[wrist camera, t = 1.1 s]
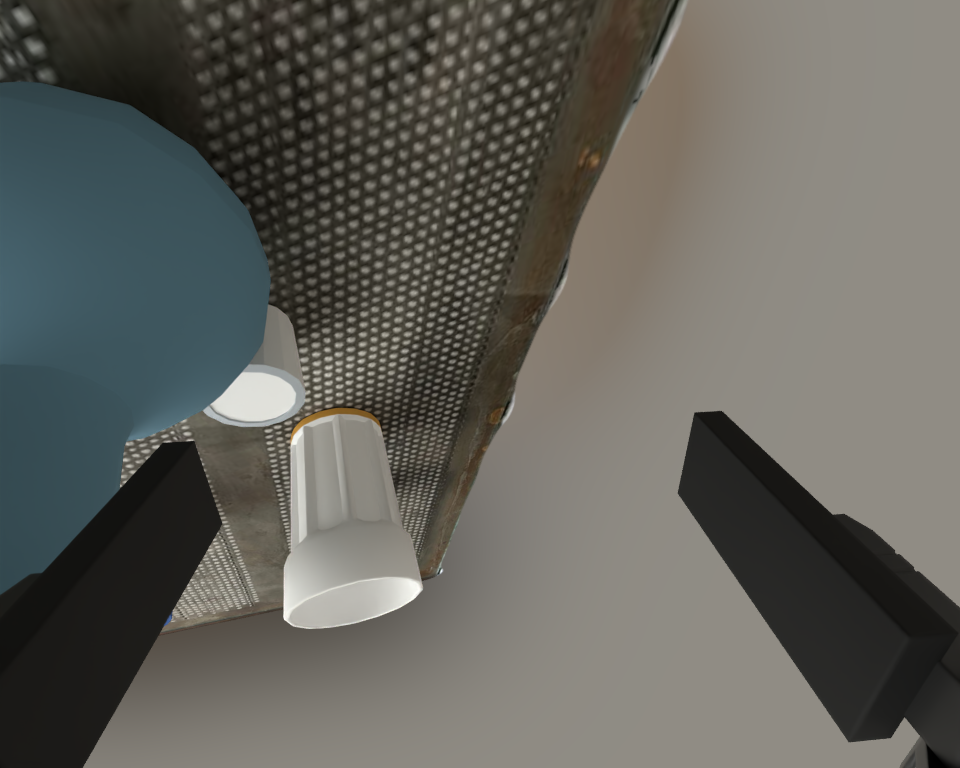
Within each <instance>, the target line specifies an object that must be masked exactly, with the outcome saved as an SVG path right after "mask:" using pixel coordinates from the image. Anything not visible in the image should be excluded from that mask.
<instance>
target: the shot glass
mask: <svg viewBox="0 0 960 768" xmlns="http://www.w3.org/2000/svg"><path fill="white" fill-rule="evenodd" d="M305 393H306V391H305V386H304V380H303V375H302V370H301V365H300V360H299V355H298V350H297V345H296V340H295V335H294V329H293V325H292V323H291V321H290V319H289V318H288V316H287V315H286V314H285V313H283V312H282V311H281V310H280V309H278V308H277V307H274V306H272V305H269V304H268V310H267V318H266V326H265V333H264V340H263V343H262V345H261V346H260V348H259V350H258V351H257V353H256V354H255V356H254V357H253V359H252V360H251V362H250V364H249V365H248V366H247V367H246V368H245V369H244V371H243V372H242V373H241V374H240V375H239V376H238V377H237V378H236V380H235V381H234V382H233V383H232V384H231V385H230V386H229V388H228V389H227V390H226V391H225V392H224V393H223V394H222V395H221V396H220V397H219V398H218V399H216V400H215V401H214V402H213V403H211V404H210V405H209V406H208V407H207V408H205V409H204V410H203V411H204V412H205V413H206V414H207V416H210V417H212V418H214V419H216V420H218V421H220V422H222V423H225V424H230V425H235V426H240V427H261V426H267V425H271V424H275V423H279V422H282V421H284V420H286V419H288V418H289V417H291V416H293V415H295V414H296V413H297V412H298V411H299V409H300V408H301V407H302V406H303V404H304V402H305Z"/></svg>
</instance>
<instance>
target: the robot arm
mask: <svg viewBox="0 0 960 768" xmlns="http://www.w3.org/2000/svg"><path fill="white" fill-rule="evenodd" d="M678 494H679V496H680V497H681V498H682V500H683V502H684V503H685V505H686V506H687V507H688V509H689V510H690V512H691V513H692V515H693V516H694V517H695V519H696V520H697V522H698V523H699V524H700V526H701V528H702V529H703V531H704V532H705V533H706V535H707V536H708V538H709V539H710V541H711V542H712V544H713V545H714V546H715V548H716V550H717V551H718V553H719V554H720V555H721V557H722V558H723V560H724V561H725V563H726V564H727V566H728V567H729V569H730V570H731V571H732V573H733V574H734V576H735V577H736V579H737V580H738V582H739V583H740V584H741V586H742V587H743V589H744V590H745V592H746V593H747V595H748V596H749V598H750V599H751V600H752V602H753V603H754V605H755V606H756V608H757V609H758V611H759V612H760V614H761V615H762V617H763V618H764V619H765V621H766V622H767V624H768V625H769V627H770V628H771V629H772V631H773V633H774V634H775V635H776V637H777V638H778V639H779V641H780V643H781V644H782V646H783V647H784V648H785V650H786V651H787V653H788V654H789V656H790V657H791V659H792V660H793V662H794V663H795V664H796V666H797V667H798V669H799V670H800V672H801V673H802V675H803V676H804V677H805V679H806V680H807V682H808V683H809V685H810V686H811V688H812V689H813V691H814V692H815V694H816V695H817V696H818V698H819V699H820V701H821V702H822V704H823V705H824V707H825V708H826V709H827V711H828V713H829V714H830V715H831V717H832V718H833V720H834V721H835V723H836V724H837V725H838V727H839V728H840V730H841V731H842V733H843V734H844V736H845V737H846V739H847V740H848V742H856V741H866V740H876V739H886V738H891V737H892V735H893V734H894V732H895V731H896V729H897V728H898V726H899V724H900V723H901V721H902V720H903V718H904V717H905V718H906V719H907V720H908V722H909V723H910V724H911V725H912V727H913V728H914V729H915V730H916V731H917V733H918V734H919V735H920V738H919V739H918V740H917V742H916V743H915V745H914V746H913V748H912V749H911V751H910V752H909V754H908V755H907V756H906V758H905V759H904V761H903V762H902V763H901V765H900V768H960V607H959V606H957V605H956V604H955V603H954V602H953V601H952V600H951V599H949V598H948V597H947V596H946V595H945V594H944V593H943V592H942V591H940V590H939V589H938V588H937V587H936V586H935V585H934V584H932V583H931V582H930V581H929V580H928V579H927V578H926V577H925V576H923V575H922V574H921V573H920V572H918V571H917V572H916V571H915V570H914V567H913V566H912V565H911V564H910V563H909V562H908V561H907V560H905V559H904V558H903V557H902V556H901V555H900V554H896V553H895V550H894V549H893V548H892V547H891V546H890V545H888V544H887V543H886V542H885V541H884V540H883V539H882V538H881V537H880V536H878V535H877V534H876V533H875V532H874V531H873V530H871V529H869V528H868V527H866V526H864V525H862V524H861V523H859V522H857V521H855V520H854V519H852V518H850V517H848V516H847V515H845V514H837V515H832V514H831V513H830V512H829V511H828V510H827V509H826V508H825V507H824V506H823V505H822V504H820V503H819V502H818V501H817V500H816V499H815V498H814V497H813V496H812V495H811V494H810V493H809V492H808V491H807V490H805V488H803V487H802V486H801V485H800V484H799V483H798V482H797V481H796V480H795V479H794V478H793V477H792V476H790V475H789V473H787V472H786V471H785V470H784V469H783V468H782V467H781V466H780V465H779V464H778V463H776V461H775V460H773V459H772V458H771V457H770V456H769V455H768V454H767V453H766V452H765V451H764V450H763V449H762V448H761V447H760V446H759V445H758V444H756V443H755V442H754V441H753V440H752V439H751V438H750V437H749V436H748V435H747V434H746V433H745V432H744V431H743V430H741V429H740V428H739V427H738V426H737V425H736V424H735V423H734V422H733V421H732V420H731V419H730V418H729V417H728V416H727V415H726V414H724V413H723V412H722V411H714V412H698V413H697V412H696V413H694V418H693V422H692V427H691V432H690V437H689V442H688V446H687V451H686V456H685V461H684V466H683V470H682V475H681V480H680V485H679V490H678ZM221 525H222V521H221V518H220V516H219V513H218V510H217V507H216V504H215V501H214V498H213V495H212V492H211V489H210V486H209V483H208V480H207V477H206V474H205V472H204V469H203V466H202V463H201V460H200V457H199V454H198V451H197V448H196V445H195V442H194V441H187V442H169V443H162V444H161V445H160V447H159V448H158V449H157V450H156V451H155V452H154V453H153V454H152V455H151V456H150V457H149V458H148V459H147V461H146V462H145V463H144V464H143V465H142V466H141V467H140V468H139V469H138V470H137V471H136V472H135V473H134V475H133V476H132V477H131V478H130V479H129V480H128V481H127V482H126V483H125V484H124V485H123V486H122V487H121V489H120V490H119V491H118V492H117V493H116V494H115V495H114V496H113V497H112V498H111V499H110V500H109V501H108V503H107V504H106V505H105V506H104V507H103V508H102V509H101V510H100V511H99V512H98V513H97V514H96V515H95V517H94V518H93V519H92V520H91V521H90V522H89V523H88V524H87V525H86V526H85V527H84V528H83V529H82V531H81V532H80V533H79V534H78V535H77V536H76V537H75V538H74V539H73V540H72V541H71V542H70V543H69V545H68V546H67V547H66V548H65V549H64V550H63V551H62V552H61V553H60V554H59V555H58V556H57V557H56V559H55V560H54V561H53V562H52V563H51V564H50V565H49V566H48V567H47V568H46V569H45V570H44V571H43V573H33V574H29V575H28V576H27V577H25V578H24V579H22V580H21V581H19V582H18V583H17V584H15V585H14V586H12V587H11V588H9V589H8V590H7V591H5V592H4V593H2V594H1V595H0V768H83V766H84V764H85V763H86V761H87V759H88V757H89V756H90V754H91V752H92V751H93V749H94V747H95V745H96V743H97V742H98V740H99V738H100V737H101V735H102V733H103V731H104V730H105V728H106V726H107V724H108V722H109V721H110V719H111V717H112V716H113V714H114V712H115V710H116V709H117V707H118V705H119V703H120V702H121V700H122V698H123V696H124V694H125V693H126V691H127V689H128V688H129V686H130V684H131V682H132V681H133V679H134V677H135V675H136V674H137V672H138V670H139V668H140V667H141V665H142V663H143V661H144V660H145V658H146V656H147V655H148V653H149V651H150V649H151V648H152V646H153V644H154V642H155V640H156V639H157V637H158V635H159V634H160V632H161V630H162V628H163V627H164V625H165V623H166V621H167V620H168V618H169V616H170V614H171V613H172V611H173V609H174V607H175V606H176V604H177V602H178V600H179V599H180V597H181V595H182V593H183V592H184V590H185V588H186V586H187V585H188V583H189V581H190V579H191V578H192V576H193V574H194V572H195V571H196V569H197V567H198V565H199V564H200V562H201V560H202V558H203V557H204V555H205V553H206V551H207V550H208V548H209V546H210V545H211V543H212V541H213V539H214V538H215V536H216V534H217V532H218V531H219V529H220V527H221Z"/></svg>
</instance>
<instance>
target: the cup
mask: <svg viewBox="0 0 960 768" xmlns="http://www.w3.org/2000/svg"><path fill="white" fill-rule="evenodd" d="M422 589H423V585H422V581H421V577H420V572H419V568H418V564H417V559H416V555H415V551H414V546H413V542H412V538H411V534H409V533H408V532H406V531H405V530H404V529H403V525H402V520H401V516H400V511H399V507H398V502H397V498H396V493H395V489H394V484H393V480H392V475H391V471H390V466H389V462H388V457H387V453H386V448H385V444H384V439H383V435H382V430H381V426H380V423H379V421H378V420H377V419H376V418H375V417H374V416H373V415H372V414H371V413H368V412H365V411H362V410H358V409H354V408H333V409H328V410H324V411H320V412H317V413H315V414H312V415H310V416H308V417H306V418H304V419H303V420H302V421H300V422H299V423H298V424H297V426H296V427H295V428H294V429H293V432H292V435H291V553H290V554H289V555H288V557H287V560H286V563H285V565H284V620H286V621H287V622H288V623H289V624H291V625H292V626H295V627H302V628H307V629H311V628H330V627H336V626H342V625H347V624H353V623H357V622H361V621H365V620H368V619H371V618H375V617H378V616H381V615H383V614H386V613H388V612H391V611H393V610H396V609H398V608H400V607H402V606H404V605H405V604H406V603H408V602H410V601H412V600H413V599H415V597H417V595H418V594H419V593H420V592H421V591H422Z"/></svg>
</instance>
